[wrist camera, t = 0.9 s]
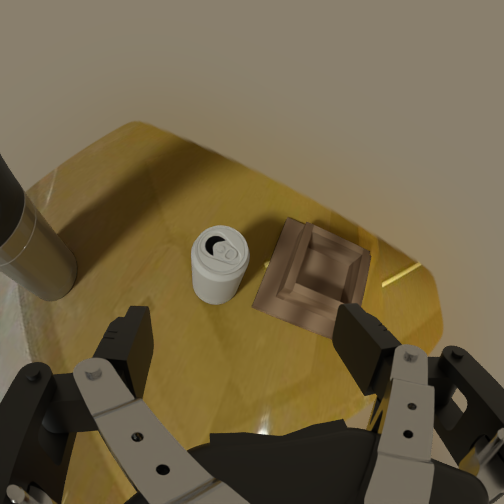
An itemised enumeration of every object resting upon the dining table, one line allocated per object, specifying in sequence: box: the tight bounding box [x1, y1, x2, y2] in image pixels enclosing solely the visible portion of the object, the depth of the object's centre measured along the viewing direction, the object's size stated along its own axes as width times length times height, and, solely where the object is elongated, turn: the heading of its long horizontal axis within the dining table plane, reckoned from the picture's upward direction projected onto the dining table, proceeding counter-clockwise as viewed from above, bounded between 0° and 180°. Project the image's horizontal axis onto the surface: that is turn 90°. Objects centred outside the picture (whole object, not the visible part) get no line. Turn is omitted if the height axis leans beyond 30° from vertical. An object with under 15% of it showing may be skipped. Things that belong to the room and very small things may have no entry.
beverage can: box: [191, 226, 250, 304], centre depth 35 cm, size 6×6×12 cm
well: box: [252, 217, 371, 339], centre depth 41 cm, size 16×16×5 cm
